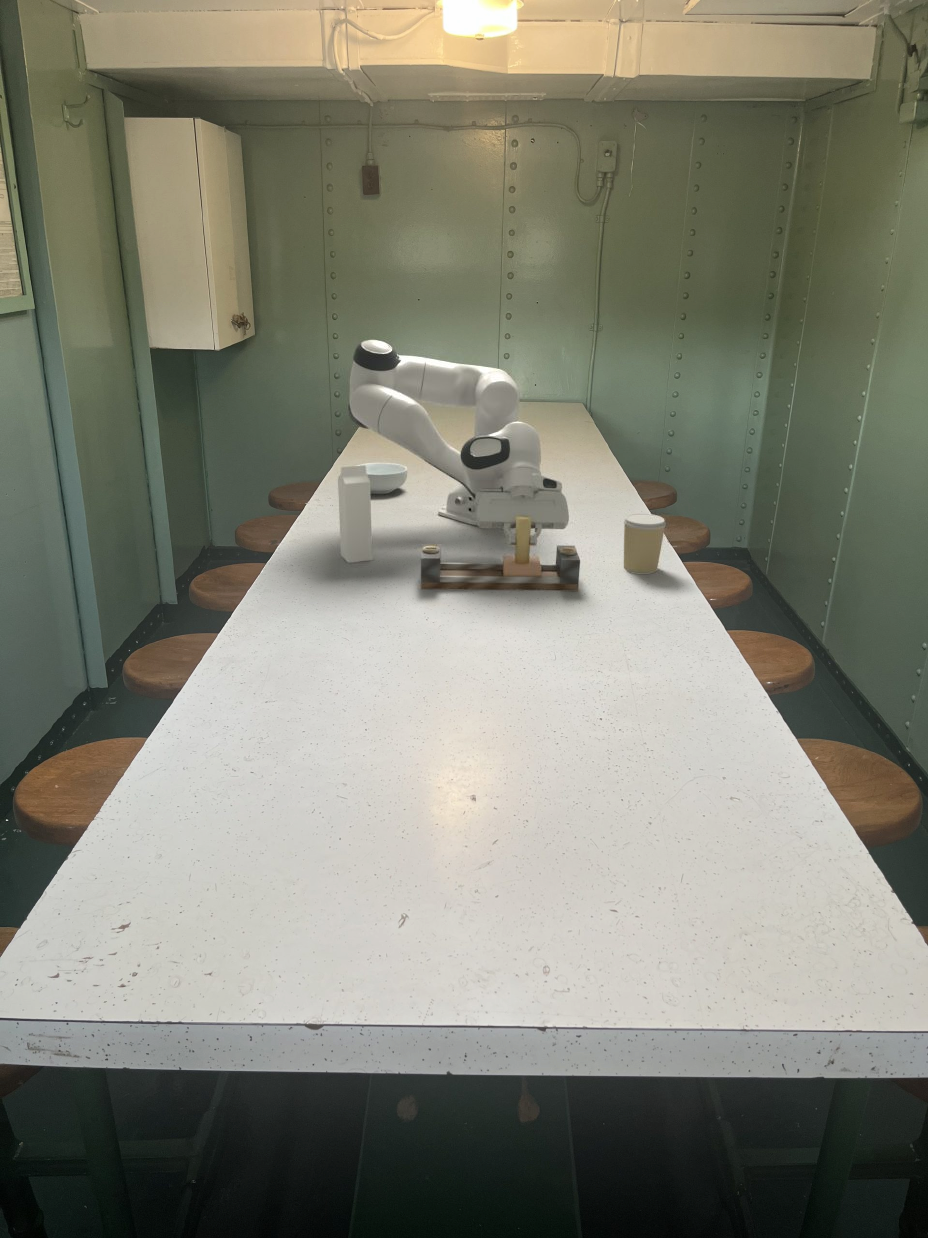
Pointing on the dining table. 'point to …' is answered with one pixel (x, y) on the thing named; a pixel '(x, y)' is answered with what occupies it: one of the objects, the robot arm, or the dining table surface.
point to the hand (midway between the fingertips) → (522, 544)
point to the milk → (355, 514)
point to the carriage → (522, 553)
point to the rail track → (498, 573)
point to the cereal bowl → (385, 477)
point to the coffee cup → (642, 542)
